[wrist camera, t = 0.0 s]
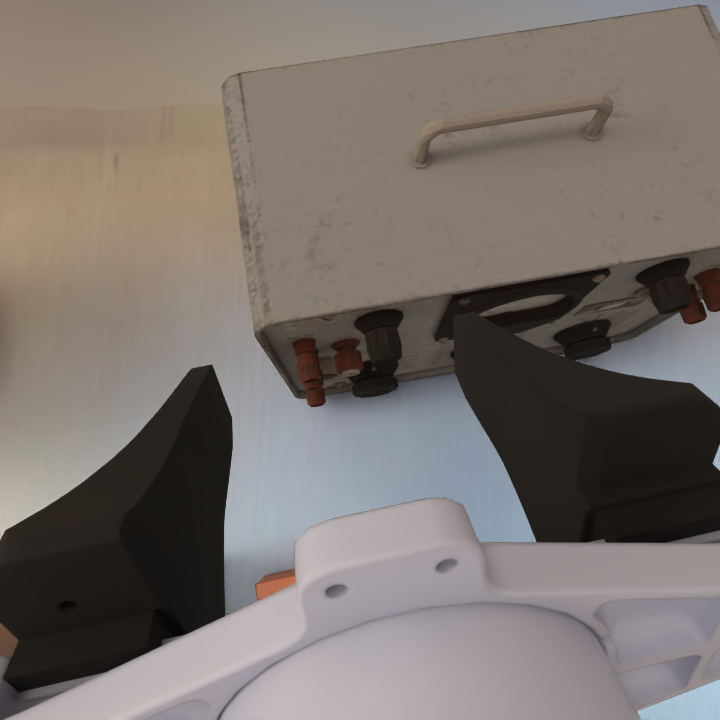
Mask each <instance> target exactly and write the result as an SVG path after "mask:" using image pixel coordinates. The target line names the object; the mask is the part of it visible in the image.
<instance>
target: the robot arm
mask: <svg viewBox="0 0 720 720" xmlns="http://www.w3.org/2000/svg"><path fill="white" fill-rule="evenodd" d="M453 332H454V361H455V373H456V376H457V378H458V381H459V383H460V386H461V388H462V391H463V393H464V395H465V398H466V399H467V401H468V403H469V405H470V406H471V408H472V410H473V412H474V413H475V415H476V417H477V418H478V420H479V422H480V423H481V425H482V427H483V428H484V430H485V432H486V433H487V435H488V437H489V438H490V440H491V442H492V443H493V445H494V447H495V449H496V450H497V452H498V454H499V456H500V458H501V459H502V461H503V463H504V465H505V468H506V470H507V472H508V474H509V477H510V479H511V481H512V483H513V486H514V488H515V490H516V492H517V495H518V497H519V500H520V502H521V504H522V507H523V509H524V511H525V514H526V516H527V519H528V521H529V524H530V526H531V529H532V531H533V534H534V536H535V539H536V541H537V542H479V540H478V538H477V536H476V533H475V531H474V528H473V526H472V524H471V521H470V519H469V517H468V514H467V512H466V510H465V508H464V506H463V505H461V504H459V503H457V502H455V501H452V500H450V499H448V498H428V499H421V500H416V501H411V502H407V503H402V504H398V505H393V506H389V507H384V508H380V509H375V510H371V511H366V512H361V513H357V514H352V515H348V516H343V517H339V518H334V519H330V520H327V521H325V522H322V523H320V524H318V525H315V526H313V527H311V528H309V529H308V530H307V531H306V532H305V533H304V534H303V535H302V536H301V537H300V538H299V539H298V540H297V542H296V543H295V554H294V562H295V580H296V583H294V584H292V585H290V586H288V587H286V588H284V589H282V590H280V591H277V592H275V593H273V594H271V595H269V596H267V597H265V598H263V599H260V600H258V601H256V602H254V603H252V604H250V605H248V606H246V607H243V608H241V609H239V610H237V611H235V612H233V613H231V614H229V615H227V616H225V591H224V518H225V507H226V499H227V491H228V483H229V475H230V467H231V458H232V449H233V432H232V416H231V414H230V411H229V408H228V406H227V403H226V400H225V398H224V395H223V392H222V390H221V387H220V384H219V381H218V379H217V376H216V373H215V371H214V368H213V365H207V366H202V367H197V368H192V369H191V370H190V371H189V372H188V373H187V375H186V376H185V377H184V378H183V380H182V381H181V382H180V384H179V385H178V386H177V388H176V389H175V390H174V392H173V393H172V394H171V395H170V397H169V398H168V399H167V401H166V402H165V403H164V404H163V406H162V407H161V408H160V409H159V411H158V412H157V413H156V414H155V415H154V416H153V417H152V419H151V420H150V421H149V422H148V423H147V424H146V425H145V427H144V428H143V429H142V430H141V431H140V432H139V433H138V434H137V435H136V436H135V438H134V439H133V440H132V441H131V442H130V443H129V444H128V445H126V446H125V447H124V448H123V449H122V450H121V451H120V452H119V453H118V454H117V455H116V456H115V457H113V458H112V459H111V460H110V461H109V462H108V463H106V464H105V465H104V466H103V467H101V468H100V469H99V470H98V471H96V472H95V473H94V474H93V475H91V476H90V477H89V478H88V479H86V480H85V481H84V482H82V483H81V484H80V485H78V486H77V487H75V488H74V489H73V490H71V491H70V492H68V493H67V494H65V495H64V496H62V497H61V498H59V499H58V500H56V501H55V502H53V503H52V504H50V505H48V506H47V507H45V508H44V509H42V510H40V511H38V512H37V513H35V514H33V515H32V516H30V517H28V518H26V519H25V520H23V521H21V522H19V523H18V524H16V525H14V526H12V527H11V528H9V529H7V530H6V531H5V532H4V534H3V536H2V538H1V540H0V623H1V624H2V625H3V626H4V627H5V628H6V629H7V630H8V631H9V632H10V633H11V634H12V635H13V636H15V637H16V638H17V639H18V643H17V645H16V648H15V650H14V653H13V655H12V658H11V657H9V656H5V655H0V720H641V718H640V716H639V714H638V713H637V711H638V710H641V709H643V708H646V707H649V706H651V705H654V704H656V703H659V702H662V701H664V700H667V699H669V698H672V697H675V696H677V695H680V694H682V693H685V692H688V691H690V690H693V689H695V688H698V687H701V686H703V685H706V684H708V683H711V682H714V681H716V680H719V679H720V471H719V470H718V469H717V468H716V467H715V466H714V465H713V464H712V463H713V461H714V458H715V455H716V453H717V450H718V447H719V445H720V407H719V406H718V405H717V404H716V403H715V402H713V401H712V400H711V399H710V398H709V397H707V396H706V395H705V394H704V393H703V392H701V391H700V390H699V389H698V388H697V387H695V386H694V385H693V384H691V383H684V382H675V381H665V380H656V379H649V378H643V377H637V376H632V375H626V374H622V373H617V372H612V371H608V370H604V369H601V368H597V367H593V366H589V365H586V364H583V363H579V362H576V361H574V360H571V359H568V358H565V357H562V356H559V355H557V354H554V353H552V352H549V351H547V350H545V349H543V348H540V347H538V346H536V345H534V344H532V343H530V342H528V341H525V340H523V339H521V338H520V337H518V336H516V335H514V334H512V333H510V332H508V331H506V330H505V329H503V328H501V327H499V326H497V325H496V324H494V323H492V322H490V321H489V320H487V319H485V318H483V317H481V316H479V315H478V314H476V313H474V312H471V313H466V314H461V315H456V316H453Z"/></svg>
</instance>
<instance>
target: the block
mask: <svg viewBox="0 0 720 720" xmlns="http://www.w3.org/2000/svg"><path fill="white" fill-rule="evenodd" d="M294 583H296V580H295V569H293V570H289V571H285V572H280V573H276V574H271V575H267V576H265V577H263V578H262V579H261V580H260V581H259V582H258V583H256V584H255V586H256V593H257V600H260V599H263V598H265V597H267V596H269V595H271V594H273V593H275V592H277V591H280V590H282V589H284V588H286V587H288V586H290V585H292V584H294Z"/></svg>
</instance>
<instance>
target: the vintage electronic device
mask: <svg viewBox="0 0 720 720" xmlns="http://www.w3.org/2000/svg"><path fill="white" fill-rule="evenodd" d="M222 98H223V106H224V113H225V120H226V128H227V135H228V142H229V150H230V157H231V165H232V172H233V179H234V187H235V194H236V201H237V209H238V216H239V223H240V231H241V238H242V245H243V253H244V260H245V267H246V275H247V282H248V289H249V297H250V304H251V312H252V319H253V326H254V334H255V337H256V339H257V340H258V342H259V343H260V345H261V346H262V348H263V349H264V351H265V352H266V354H267V355H268V357H269V358H270V360H271V361H272V363H273V364H274V366H275V367H276V369H277V370H278V372H279V373H280V375H281V376H282V378H283V379H284V381H285V382H286V384H287V385H288V387H289V388H290V390H291V391H292V393H293V394H294V396H295V397H296V398H298V399H306V398H307V401H308V405H309V406H311V407H318V406H322V405H324V403H325V402H326V399H325V395H330V394H336V393H341V392H347V391H353V395H354V396H356V397H361V398H365V397H375V396H380V395H383V394H387V393H390V392H392V391H394V390H396V389H397V387H398V382H402V381H408V380H413V379H419V378H424V377H430V376H436V375H441V374H447V373H452V372H455V361H454V332H453V316H456V315H461V314H466V313H471V312H474V313H476V314H478V315H479V316H481V317H483V318H485V319H487V320H489V321H490V322H492V323H494V324H496V325H497V326H499V327H501V328H503V329H505V330H506V331H508V332H510V333H512V334H514V335H516V336H518V337H520V338H521V339H523V340H525V341H528V342H530V343H532V344H534V345H536V346H538V347H540V348H543V349H545V350H547V351H549V352H552V353H554V354H558V353H563V352H564V353H565V357H566V358H568V359H571V360H579V359H584V358H588V357H592V356H596V355H598V354H601V353H604V352H606V351H608V350H610V349H611V344H613V343H618V342H622V341H626V340H629V339H632V338H634V337H637V336H639V335H640V334H642V333H644V332H646V331H647V330H649V329H651V328H653V327H654V326H656V325H658V324H660V323H661V322H663V321H665V320H667V319H669V318H670V317H672V316H674V315H676V314H677V313H679V312H680V314H681V316H682V319H683V321H684V323H686V324H695V323H699V322H701V321H703V320H705V319H706V317H707V315H706V312H705V309H704V306H703V302H700V300H702V299H703V300H704V302H705V304H706V307H707V309H708V310H709V311H711V312H717V311H720V33H719V31H718V29H717V27H716V25H715V22H714V20H713V18H712V16H711V14H710V12H709V9H708V7H707V6H705V5H693V6H686V7H679V8H673V9H666V10H659V11H653V12H646V13H639V14H632V15H626V16H619V17H612V18H605V19H599V20H592V21H585V22H578V23H572V24H565V25H558V26H552V27H545V28H538V29H532V30H526V31H518V32H512V33H505V34H498V35H491V36H484V37H478V38H471V39H465V40H458V41H451V42H444V43H437V44H431V45H424V46H417V47H410V48H404V49H398V50H390V51H384V52H378V53H370V54H363V55H357V56H350V57H343V58H336V59H330V60H323V61H316V62H310V63H303V64H296V65H290V66H283V67H276V68H269V69H263V70H256V71H249V72H242V73H238V74H235V75H233V76H230V77H228V78H227V80H226V81H225V82H224V83H223V85H222Z"/></svg>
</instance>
